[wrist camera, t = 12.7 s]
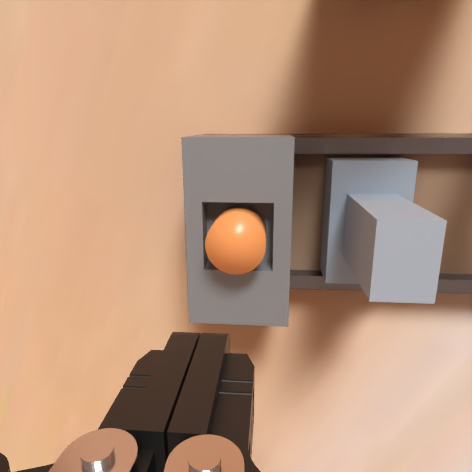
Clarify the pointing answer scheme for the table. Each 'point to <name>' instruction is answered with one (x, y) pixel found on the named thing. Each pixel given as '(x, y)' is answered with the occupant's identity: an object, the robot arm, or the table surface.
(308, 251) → the rail bed
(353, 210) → the carriage
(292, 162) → the cabinet
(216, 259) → the button
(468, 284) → the guide rails
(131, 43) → the table surface
